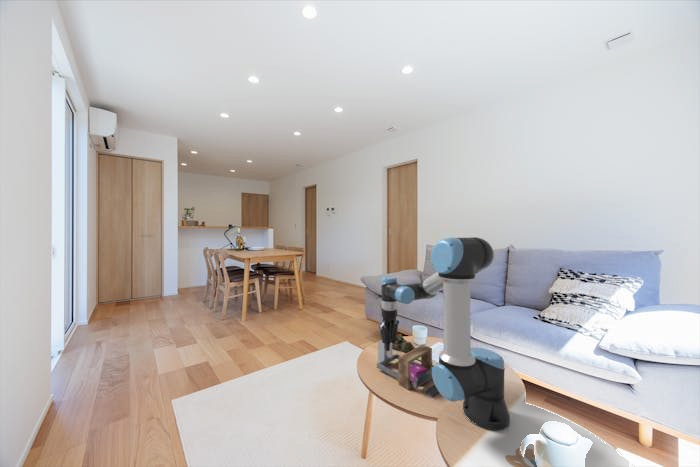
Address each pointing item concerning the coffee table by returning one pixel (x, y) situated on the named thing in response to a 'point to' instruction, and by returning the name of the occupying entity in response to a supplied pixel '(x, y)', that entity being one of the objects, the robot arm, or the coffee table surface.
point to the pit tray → (432, 391)
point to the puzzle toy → (416, 371)
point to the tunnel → (410, 357)
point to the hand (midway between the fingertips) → (389, 356)
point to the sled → (386, 360)
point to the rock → (402, 344)
